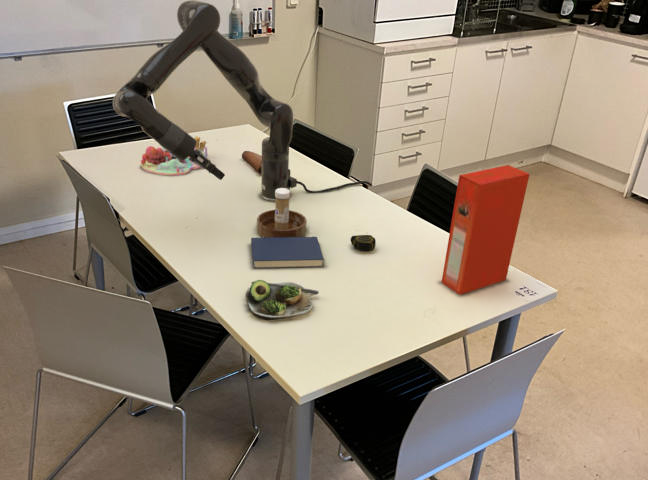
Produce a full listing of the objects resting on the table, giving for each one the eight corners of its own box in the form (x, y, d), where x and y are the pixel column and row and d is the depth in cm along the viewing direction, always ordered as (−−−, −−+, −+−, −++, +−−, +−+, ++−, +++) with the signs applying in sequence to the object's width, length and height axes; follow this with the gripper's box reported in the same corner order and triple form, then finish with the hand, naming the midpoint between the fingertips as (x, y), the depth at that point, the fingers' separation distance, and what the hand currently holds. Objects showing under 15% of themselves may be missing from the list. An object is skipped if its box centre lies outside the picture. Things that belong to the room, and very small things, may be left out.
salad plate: (311, 282, 184) (312, 267, 182) (327, 317, 170) (328, 302, 167) (241, 288, 180) (241, 273, 178) (252, 324, 166) (252, 309, 163)
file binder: (440, 282, 187) (459, 174, 170) (485, 268, 195) (507, 164, 178) (460, 295, 182) (481, 185, 165) (505, 280, 189) (530, 174, 173)
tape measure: (371, 243, 206) (372, 232, 204) (377, 254, 200) (378, 242, 198) (349, 244, 205) (350, 233, 203) (355, 255, 199) (356, 243, 197)
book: (251, 245, 201) (251, 237, 200) (316, 244, 204) (317, 236, 202) (253, 268, 190) (253, 260, 188) (323, 267, 192) (323, 259, 191)
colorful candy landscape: (157, 150, 268) (155, 127, 263) (214, 155, 266) (213, 132, 261) (135, 172, 247) (133, 148, 242) (197, 178, 245) (196, 154, 240)
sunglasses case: (279, 171, 252) (270, 158, 248) (264, 182, 252) (255, 169, 247) (261, 156, 266) (253, 143, 261) (246, 166, 265) (238, 153, 261)
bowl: (282, 216, 220) (282, 205, 218) (315, 232, 211) (316, 221, 209) (247, 229, 210) (247, 218, 208) (280, 247, 201) (280, 235, 199)
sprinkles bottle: (271, 230, 210) (272, 190, 203) (281, 225, 213) (282, 186, 206) (282, 234, 208) (283, 194, 200) (291, 230, 211) (293, 190, 203)
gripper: (190, 134, 184) (233, 169, 193) (177, 126, 196) (219, 159, 205) (174, 156, 184) (218, 189, 193) (162, 147, 196) (204, 179, 205)
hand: (218, 174), depth 199 cm, fingers open, 8 cm apart
